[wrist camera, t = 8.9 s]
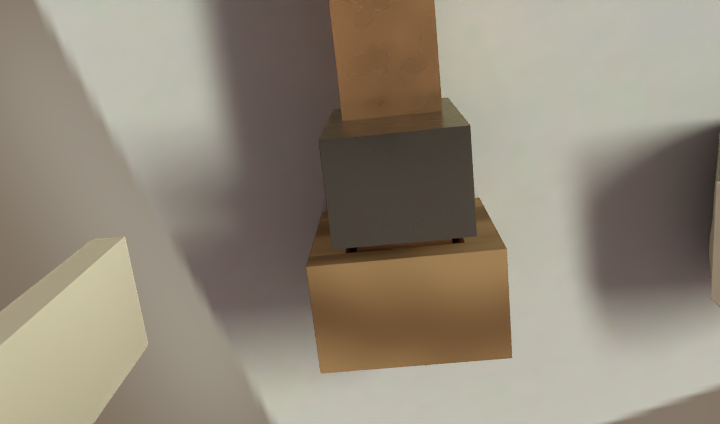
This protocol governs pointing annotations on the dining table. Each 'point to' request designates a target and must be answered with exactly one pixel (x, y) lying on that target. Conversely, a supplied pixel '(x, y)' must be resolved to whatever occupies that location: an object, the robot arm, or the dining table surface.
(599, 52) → the dining table surface
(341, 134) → the tan wooden post
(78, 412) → the robot arm
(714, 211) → the ceramic mug
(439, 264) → the socket
